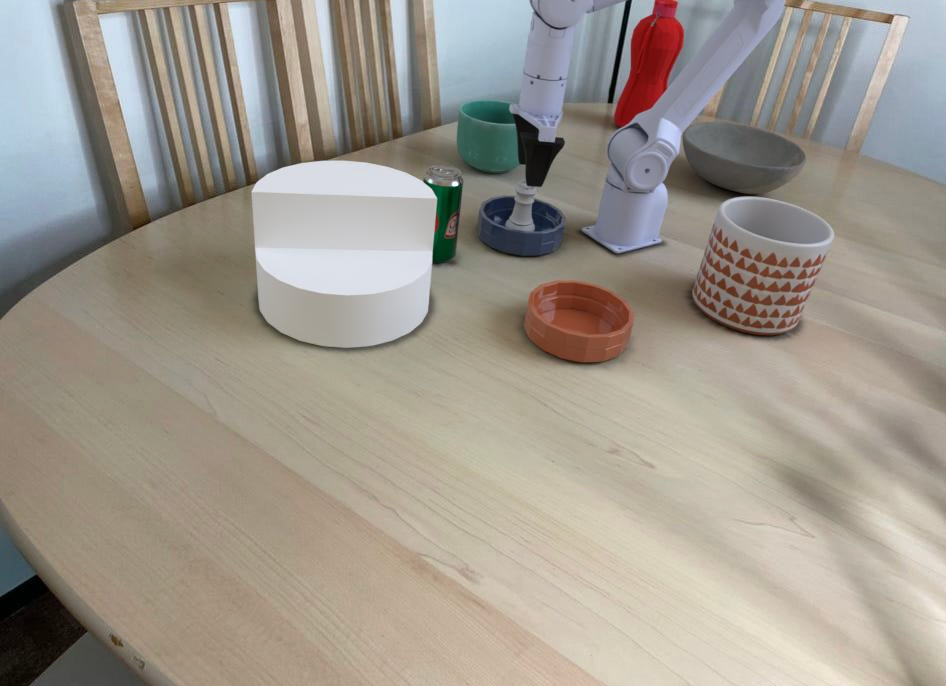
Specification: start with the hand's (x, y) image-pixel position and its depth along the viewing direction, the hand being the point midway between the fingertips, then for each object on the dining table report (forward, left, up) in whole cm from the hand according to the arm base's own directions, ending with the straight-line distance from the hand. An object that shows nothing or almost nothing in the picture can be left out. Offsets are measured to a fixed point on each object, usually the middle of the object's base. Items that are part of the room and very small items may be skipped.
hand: (529, 174), depth 103 cm
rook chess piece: (+1, +1, -9) cm, 9 cm away
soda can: (+15, +1, -9) cm, 18 cm away
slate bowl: (+1, +1, -9) cm, 9 cm away
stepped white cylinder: (+31, +6, -9) cm, 33 cm away
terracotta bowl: (+10, +24, -9) cm, 27 cm away
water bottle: (-53, -30, -9) cm, 62 cm away
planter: (-15, +29, -9) cm, 34 cm away
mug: (-13, -24, -9) cm, 29 cm away
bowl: (-49, -1, -9) cm, 50 cm away
